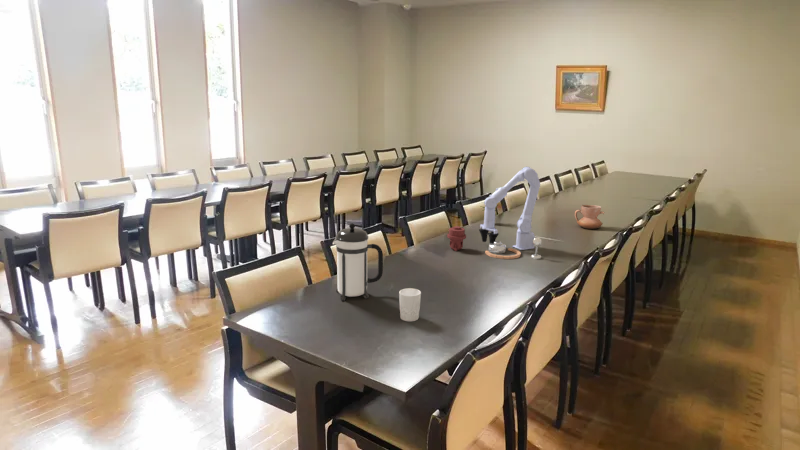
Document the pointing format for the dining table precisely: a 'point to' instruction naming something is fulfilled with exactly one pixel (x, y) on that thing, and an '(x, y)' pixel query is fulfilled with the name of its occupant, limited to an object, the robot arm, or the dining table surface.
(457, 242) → the mechanical component
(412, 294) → the white cup
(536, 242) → the wine glass
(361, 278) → the coffee press
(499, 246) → the cast cover
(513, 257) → the ring
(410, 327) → the dining table surface
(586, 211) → the ceramic jug
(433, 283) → the dining table surface
